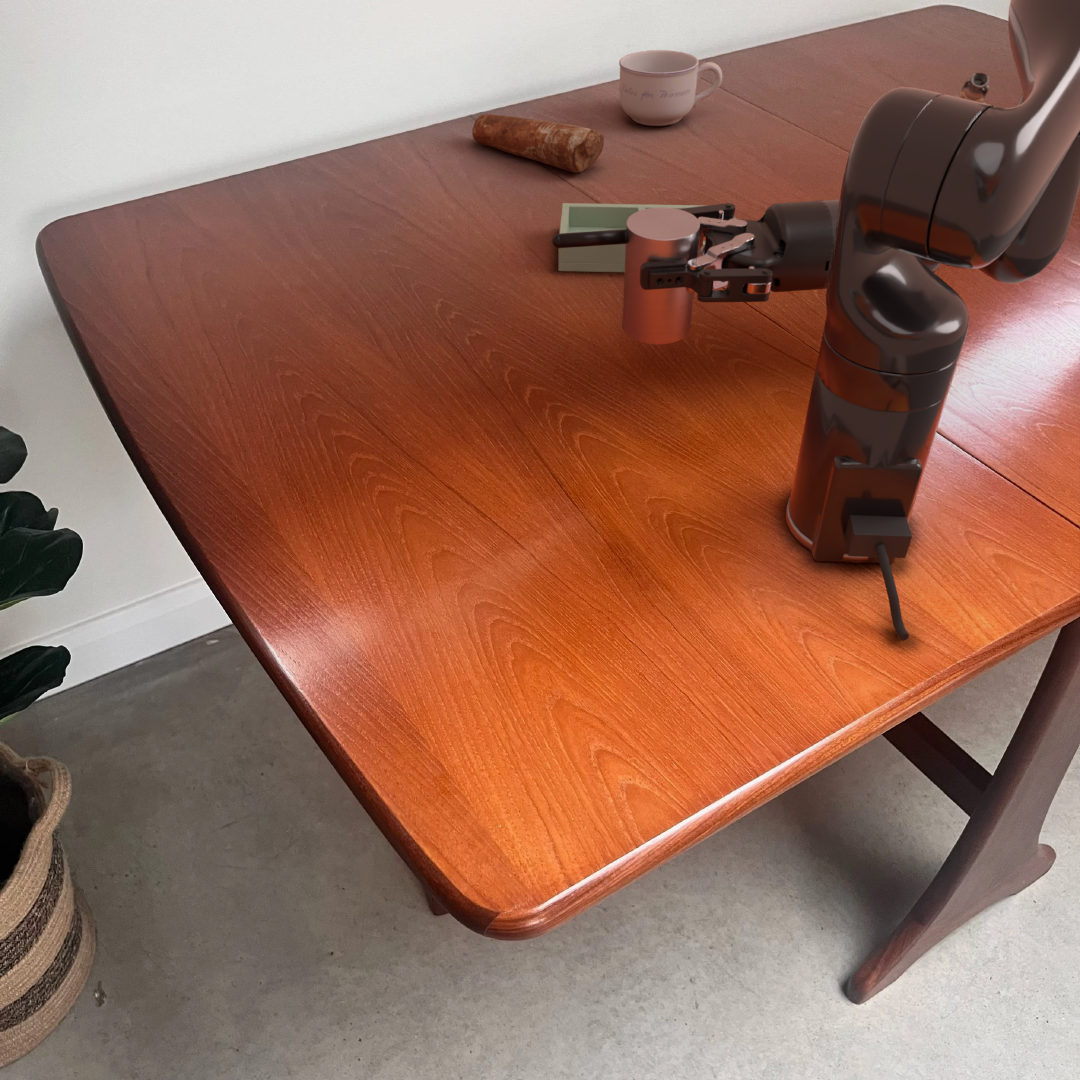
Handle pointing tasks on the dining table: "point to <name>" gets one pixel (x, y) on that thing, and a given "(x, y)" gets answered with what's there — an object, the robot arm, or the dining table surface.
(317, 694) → the dining table surface
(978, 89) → the vase
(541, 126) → the bread
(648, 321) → the handled metal cylinder
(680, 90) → the teacup
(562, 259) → the divided box
